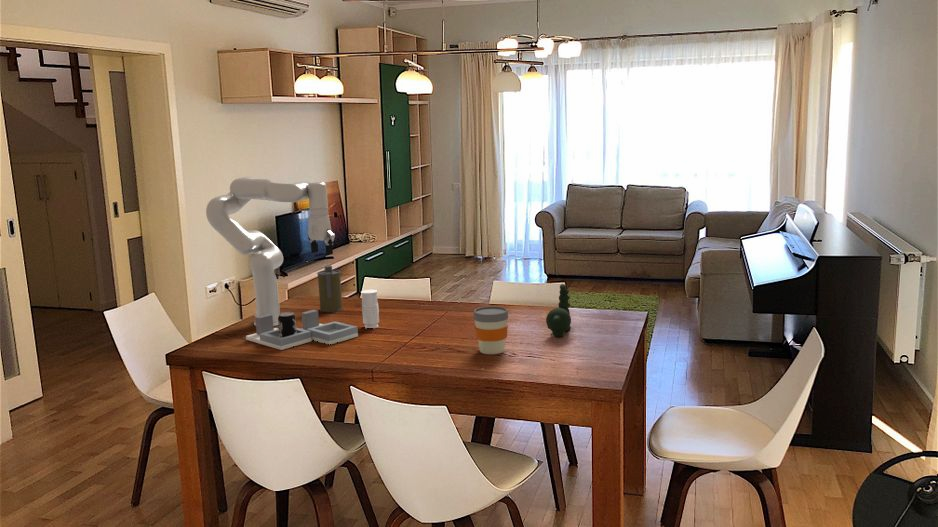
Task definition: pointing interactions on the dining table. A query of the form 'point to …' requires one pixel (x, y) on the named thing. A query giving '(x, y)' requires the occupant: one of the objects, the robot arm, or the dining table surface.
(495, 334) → the reusable coffee cup
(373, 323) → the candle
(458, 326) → the dining table surface
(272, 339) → the grey tray
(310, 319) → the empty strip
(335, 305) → the canister
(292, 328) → the beverage can
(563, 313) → the toy figurine
